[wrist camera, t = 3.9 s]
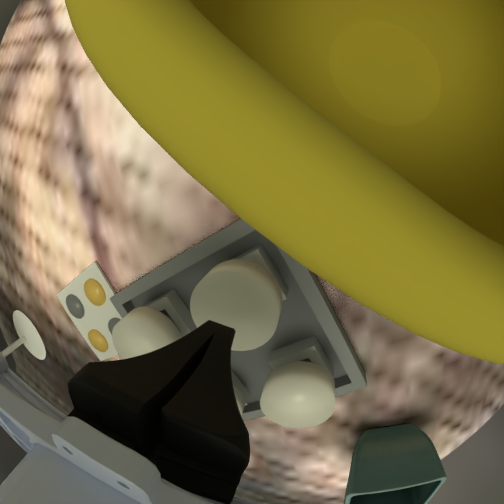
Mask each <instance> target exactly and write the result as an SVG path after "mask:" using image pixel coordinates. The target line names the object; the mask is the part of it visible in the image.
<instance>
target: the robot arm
mask: <svg viewBox="0 0 504 504" xmlns="http://www.w3.org/2000/svg"><path fill="white" fill-rule="evenodd" d="M235 332H236V331H235V329H234V328H231V327H228V326H225V325H222V324H219V323H216V322H214V321H211V320H208V321H206V322H205V323H203V324H202V325H201V326H199V327H198V328H196V329H195V330H193V331H192V332H190V333H188V334H187V335H185V336H183V337H182V338H180V339H178V340H176V341H174V342H172V343H170V344H168V345H166V346H164V347H162V348H160V349H157V350H155V351H152V352H149V353H146V354H143V355H140V356H136V357H132V358H127V359H122V360H116V361H107V362H89V363H88V364H87V365H85V366H84V367H83V368H82V369H81V370H80V371H79V372H78V373H77V374H76V375H75V376H74V377H73V378H72V379H71V380H70V381H69V382H68V389H69V394H70V397H71V400H72V403H73V406H74V409H73V410H72V412H71V413H70V414H69V415H68V416H65V415H64V414H63V413H61V412H60V411H59V410H57V409H56V408H55V407H53V406H52V405H51V404H49V403H48V402H47V401H46V400H44V399H43V398H42V397H41V396H40V395H38V394H37V393H36V392H35V391H34V390H32V389H31V388H30V387H29V386H28V385H27V384H26V383H24V382H23V381H22V380H21V379H20V378H19V377H18V376H17V375H16V374H15V373H13V372H12V371H11V370H10V369H9V368H8V364H7V361H6V359H5V357H4V356H3V354H2V353H1V352H0V425H1V426H2V427H3V428H4V429H5V430H6V432H7V433H8V434H9V435H10V436H11V437H12V438H13V439H14V440H15V441H16V442H17V443H18V444H19V445H20V446H21V447H22V448H23V449H24V450H25V451H26V452H27V453H28V454H27V455H26V456H25V457H24V459H23V460H22V461H21V462H20V463H19V464H18V465H17V467H16V468H15V469H14V470H13V471H12V472H11V474H10V475H9V476H8V477H7V478H6V479H5V481H4V482H3V483H2V484H1V485H0V504H262V503H257V502H253V501H249V500H245V499H241V498H237V497H234V495H235V491H236V488H237V485H238V484H239V482H240V479H241V475H242V474H243V472H244V470H245V469H246V467H247V466H248V463H249V459H250V442H249V433H248V430H247V428H246V426H245V424H244V422H243V419H242V417H241V414H240V411H239V408H238V405H237V401H236V398H235V393H234V388H233V383H232V375H231V347H232V343H233V340H234V336H235Z"/></svg>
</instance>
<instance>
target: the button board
mask: <svg viewBox="0 0 504 504" xmlns="http://www.w3.org/2000/svg"><path fill="white" fill-rule="evenodd" d="M232 259H243V260H248V261H252V262H255V263H257V264H259V265H261V266H262V267H264V268H265V269H267V270H268V271H269V272H270V273H271V274H272V275H273V276H274V278H275V279H276V281H277V282H278V284H279V286H280V289H281V292H282V300H283V302H282V308H281V312H280V316H279V320H278V324H277V328H276V330H275V332H274V334H273V336H272V337H271V338H270V339H269V341H267V342H266V343H265V344H264V345H262V346H260V347H258V348H256V349H252V350H247V351H234V350H231V375H232V383H233V385H234V386H235V387H237V388H238V389H239V390H240V391H241V393H242V394H243V396H244V398H245V407H244V410H243V413H242V416H241V417H242V419H243V420H248V419H254V418H259V417H263V416H265V415H264V413H263V412H262V410H261V407H260V399H261V395H262V392H263V388H264V384H265V381H266V378H267V376H268V374H269V373H270V372H271V371H272V370H273V369H274V368H275V367H277V366H279V365H281V364H284V363H287V362H293V361H305V362H311V363H314V364H317V365H320V366H322V367H323V368H325V369H326V370H327V371H328V372H329V373H330V374H331V375H332V377H333V379H334V382H335V397H338V396H341V395H344V394H347V393H349V392H352V391H355V390H358V389H361V388H363V387H366V386H367V381H366V374H365V371H364V369H363V367H362V365H361V363H360V361H359V359H358V357H357V355H356V353H355V351H354V349H353V347H352V345H351V343H350V340H349V338H348V336H347V334H346V332H345V330H344V328H343V326H342V324H341V322H340V320H339V319H338V317H337V315H336V313H335V311H334V309H333V307H332V305H331V303H330V301H329V299H328V297H327V295H326V293H325V291H324V289H323V288H322V286H321V284H320V282H319V280H318V278H317V276H316V274H315V273H313V272H312V271H310V270H309V269H307V268H306V267H304V266H303V265H301V264H300V263H299V262H297V261H296V260H295V259H293V258H292V257H291V256H290V255H288V254H287V253H286V252H284V251H283V250H282V249H280V248H279V247H278V246H276V245H275V244H274V243H272V242H271V241H270V240H269V239H267V238H266V237H265V236H263V235H262V234H261V233H259V232H258V231H257V230H255V229H254V228H253V227H251V226H250V225H249V224H247V223H246V222H245V221H243V220H242V219H241V218H240V219H239V220H237V221H235V222H233V223H232V224H230V225H228V226H226V227H225V228H223V229H221V230H219V231H218V232H216V233H214V234H213V235H211V236H209V237H208V238H206V239H204V240H202V241H201V242H199V243H197V244H196V245H194V246H192V247H191V248H189V249H187V250H186V251H184V252H182V253H181V254H179V255H177V256H176V257H174V258H172V259H171V260H169V261H167V262H166V263H164V264H162V265H161V266H159V267H157V268H156V269H154V270H153V271H151V272H149V273H148V274H146V275H144V276H143V277H141V278H140V279H138V280H136V281H135V282H133V283H132V284H130V285H128V286H127V287H125V288H124V289H122V290H121V291H119V292H118V293H116V294H115V295H114V296H112V297H111V298H109V299H110V301H111V302H112V304H113V305H114V307H115V308H116V310H117V311H118V313H119V314H120V316H121V317H122V318H124V317H125V316H126V315H127V314H128V313H129V312H130V311H132V310H133V309H135V308H137V307H150V308H153V309H156V310H158V311H160V312H162V313H163V314H165V315H166V316H167V317H168V318H169V319H171V321H172V322H173V323H174V324H175V325H176V327H177V328H178V330H179V331H180V333H181V336H182V337H183V336H185V335H187V334H188V333H190V332H192V331H193V330H195V329H196V328H197V326H196V325H195V323H194V321H193V318H192V315H191V311H190V299H191V295H192V292H193V290H194V288H195V287H196V285H197V284H198V283H199V282H200V281H201V280H202V279H203V278H204V277H205V276H206V275H207V273H208V272H209V271H210V270H211V269H212V268H213V267H215V266H216V265H218V264H219V263H221V262H224V261H227V260H232Z"/></svg>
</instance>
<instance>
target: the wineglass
mask: <svg viewBox="0 0 504 504" xmlns="http://www.w3.org/2000/svg"><path fill="white" fill-rule="evenodd" d="M13 322H14V326H15V329H16V331H17V334H18V336H19V337H20V339H18V340H17V341H16V342H14V343H13V344H12V345H10V346H9V347H8V348H6V349H5V350H4V351H2V352H1V353H2V354H3V356H4V357H6V356H7V355H8V354H10V353H11V352H12V351H13V350H15V349H16V348H17V347H19V346H20V345H21V344H24V345H25V347H26V348H27V349H28V350H29V351H30V353H31V354H33V355H34V356H35V357H36V358H38V359H40V360H43V359H45V357H46V351H45V347H44V344H43V342H42V339H41V337H40V335H39V334H38V332H37V330H36V328H35V327H34V325H33V324H32V323H31V321H30V320H29V319H28V318H27V317H26V315H24V314H23V313H22V312H21V311H18V310H16V311H14V313H13Z"/></svg>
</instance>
